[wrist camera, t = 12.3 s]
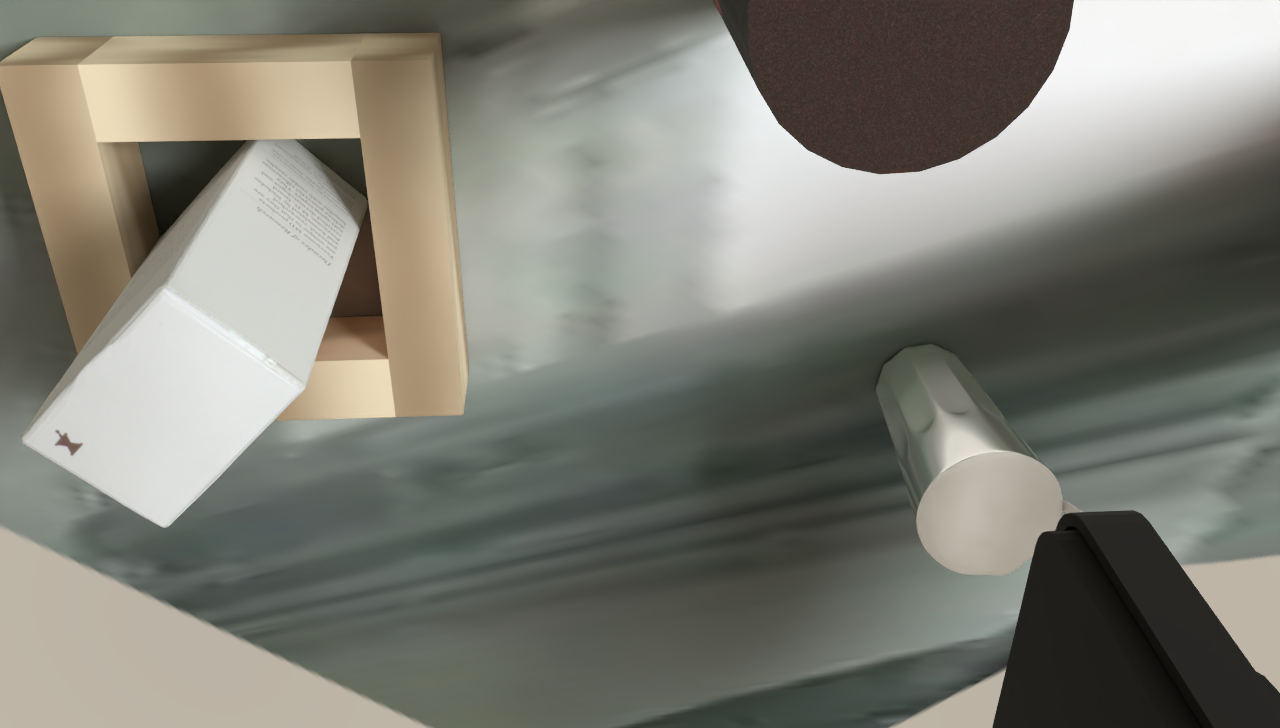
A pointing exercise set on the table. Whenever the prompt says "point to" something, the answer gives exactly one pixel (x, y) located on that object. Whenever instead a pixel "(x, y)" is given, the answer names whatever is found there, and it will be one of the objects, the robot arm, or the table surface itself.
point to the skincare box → (207, 333)
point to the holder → (257, 110)
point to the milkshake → (965, 466)
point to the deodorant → (897, 72)
